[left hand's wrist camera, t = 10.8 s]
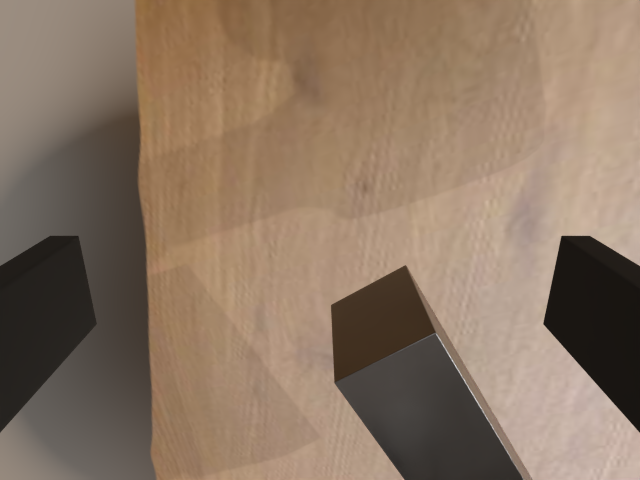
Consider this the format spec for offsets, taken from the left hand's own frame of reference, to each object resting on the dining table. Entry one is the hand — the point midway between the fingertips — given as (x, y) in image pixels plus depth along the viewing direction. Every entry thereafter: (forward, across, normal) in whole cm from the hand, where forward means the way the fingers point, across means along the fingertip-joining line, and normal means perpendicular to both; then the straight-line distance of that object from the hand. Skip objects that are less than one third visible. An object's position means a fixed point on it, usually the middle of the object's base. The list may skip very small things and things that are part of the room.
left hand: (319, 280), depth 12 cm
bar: (+15, +10, -19) cm, 26 cm away
